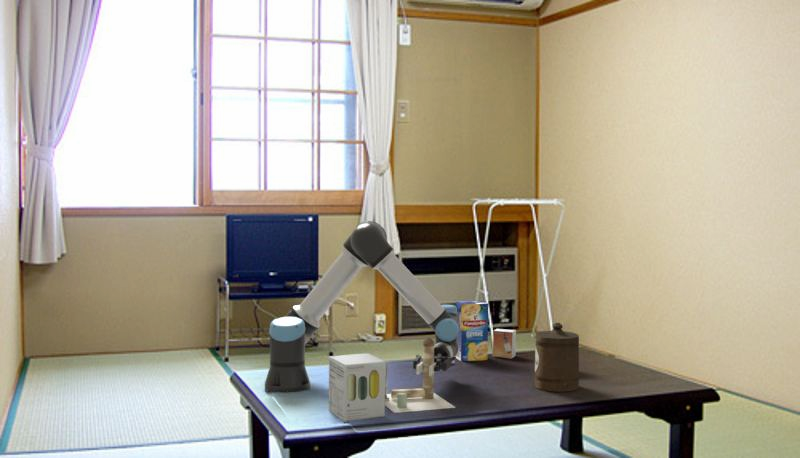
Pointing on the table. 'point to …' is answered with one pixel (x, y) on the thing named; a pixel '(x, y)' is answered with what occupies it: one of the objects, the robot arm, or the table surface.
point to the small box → (504, 343)
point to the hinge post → (386, 383)
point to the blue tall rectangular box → (472, 330)
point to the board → (418, 404)
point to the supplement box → (356, 386)
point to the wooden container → (557, 360)
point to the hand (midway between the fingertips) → (423, 370)
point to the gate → (428, 381)
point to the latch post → (401, 400)
